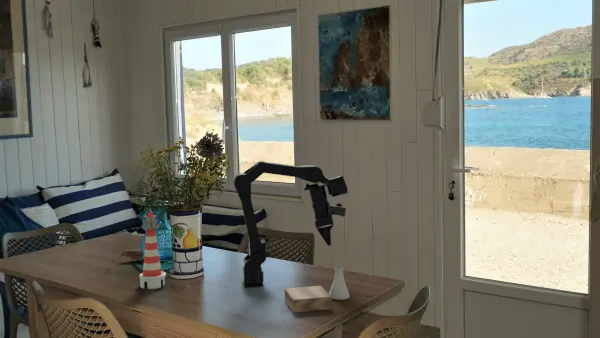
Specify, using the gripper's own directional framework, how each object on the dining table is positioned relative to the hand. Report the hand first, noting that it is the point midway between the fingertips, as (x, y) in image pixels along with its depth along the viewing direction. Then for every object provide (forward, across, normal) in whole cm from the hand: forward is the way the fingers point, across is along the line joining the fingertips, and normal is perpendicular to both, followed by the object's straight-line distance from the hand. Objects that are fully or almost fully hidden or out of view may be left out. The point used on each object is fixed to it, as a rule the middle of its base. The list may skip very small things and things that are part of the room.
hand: (329, 243), depth 217 cm
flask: (+16, -15, 0) cm, 22 cm away
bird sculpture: (-5, +32, +74) cm, 81 cm away
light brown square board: (+14, -23, +11) cm, 29 cm away
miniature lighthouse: (+1, -2, +64) cm, 64 cm away
